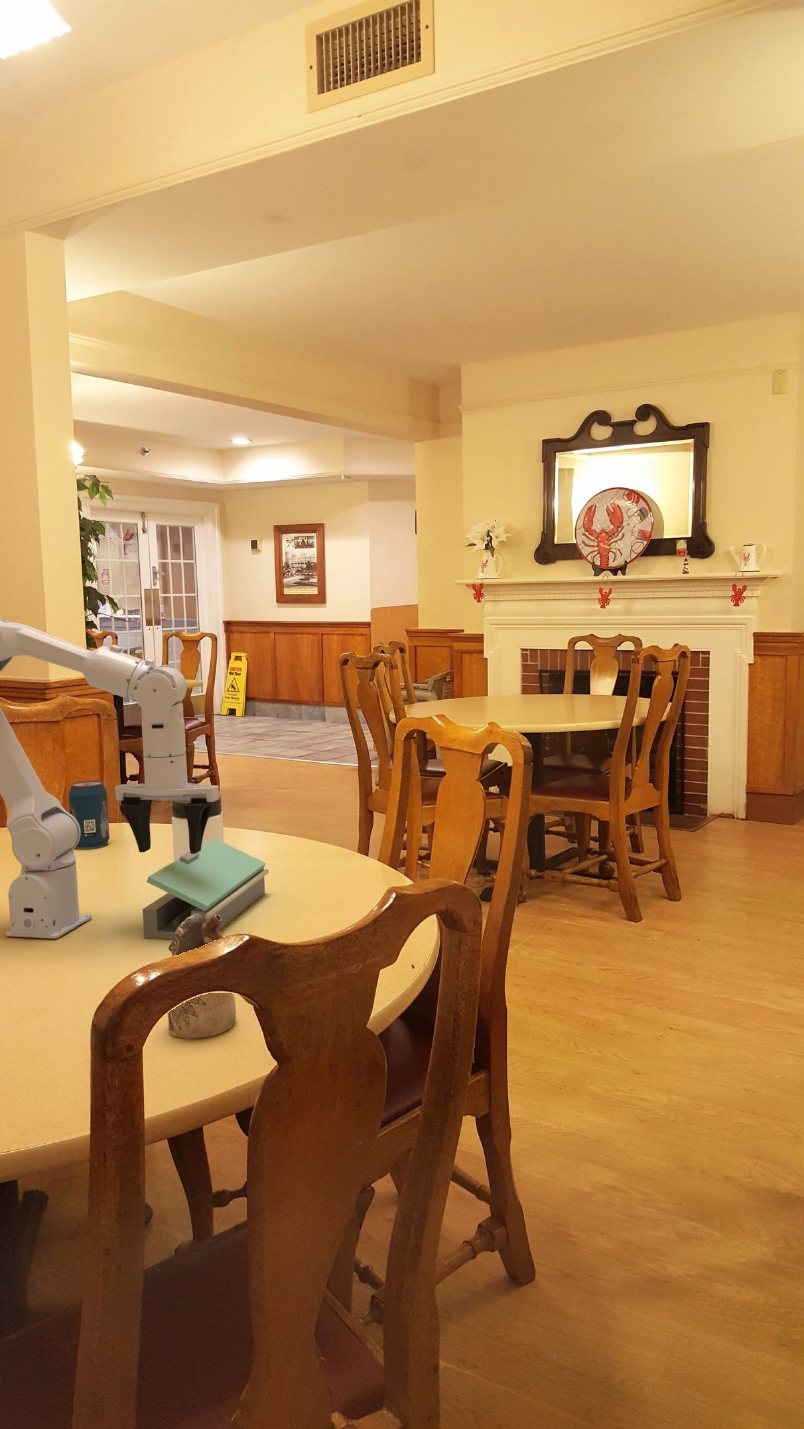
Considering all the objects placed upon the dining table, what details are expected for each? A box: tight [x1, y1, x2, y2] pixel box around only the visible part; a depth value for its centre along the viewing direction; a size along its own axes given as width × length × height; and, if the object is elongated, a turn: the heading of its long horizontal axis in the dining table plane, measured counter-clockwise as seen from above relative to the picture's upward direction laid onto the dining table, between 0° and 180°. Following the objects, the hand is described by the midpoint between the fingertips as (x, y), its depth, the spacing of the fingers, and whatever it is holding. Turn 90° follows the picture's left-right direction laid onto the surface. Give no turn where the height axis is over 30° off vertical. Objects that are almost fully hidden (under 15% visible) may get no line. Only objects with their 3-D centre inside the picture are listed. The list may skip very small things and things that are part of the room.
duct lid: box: [146, 838, 267, 911], centre depth 143 cm, size 22×9×1 cm, turn 167°
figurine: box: [167, 914, 237, 1040], centre depth 105 cm, size 7×7×12 cm
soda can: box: [68, 780, 111, 850], centre depth 187 cm, size 7×7×12 cm
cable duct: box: [142, 867, 270, 940], centre depth 143 cm, size 22×10×4 cm, turn 167°
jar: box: [171, 796, 225, 862], centre depth 169 cm, size 9×8×12 cm
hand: (170, 851), depth 138 cm, fingers open, 7 cm apart
